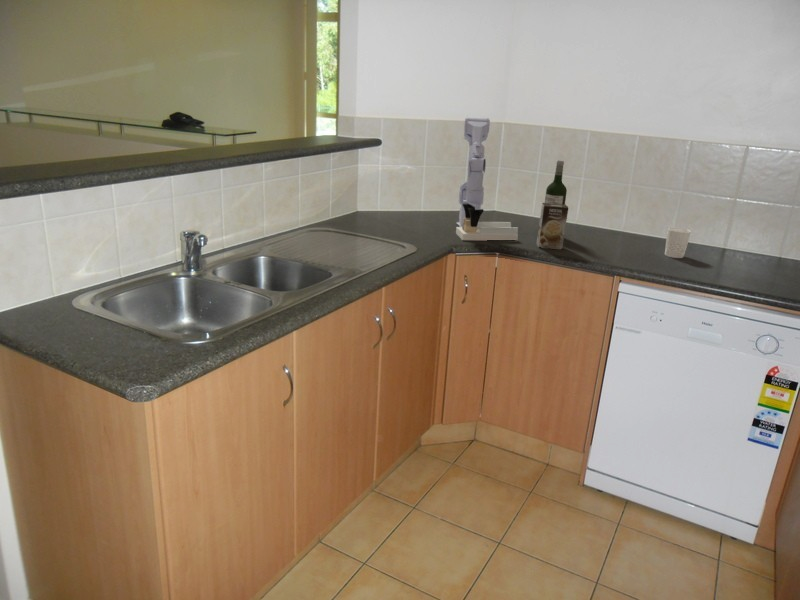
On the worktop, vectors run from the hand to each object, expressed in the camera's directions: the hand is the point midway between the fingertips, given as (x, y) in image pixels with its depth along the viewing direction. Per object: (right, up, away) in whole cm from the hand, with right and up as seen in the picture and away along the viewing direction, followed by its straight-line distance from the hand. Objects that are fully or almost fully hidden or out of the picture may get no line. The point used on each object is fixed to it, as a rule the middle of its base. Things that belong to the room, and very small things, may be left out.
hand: (471, 224), depth 248 cm
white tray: (+6, -5, +3) cm, 8 cm away
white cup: (+75, -13, -10) cm, 77 cm away
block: (-1, -2, +1) cm, 3 cm away
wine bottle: (+33, -4, +10) cm, 35 cm away
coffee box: (+29, -9, -6) cm, 31 cm away
